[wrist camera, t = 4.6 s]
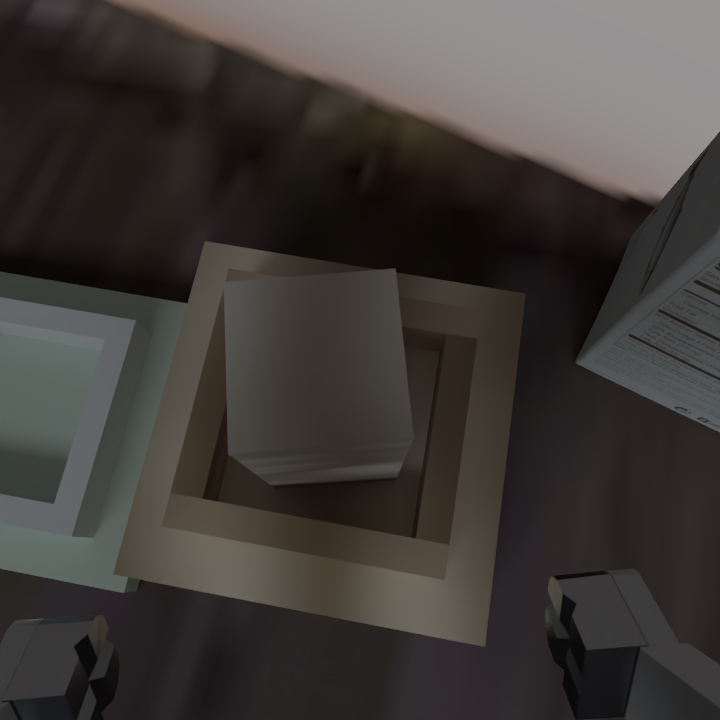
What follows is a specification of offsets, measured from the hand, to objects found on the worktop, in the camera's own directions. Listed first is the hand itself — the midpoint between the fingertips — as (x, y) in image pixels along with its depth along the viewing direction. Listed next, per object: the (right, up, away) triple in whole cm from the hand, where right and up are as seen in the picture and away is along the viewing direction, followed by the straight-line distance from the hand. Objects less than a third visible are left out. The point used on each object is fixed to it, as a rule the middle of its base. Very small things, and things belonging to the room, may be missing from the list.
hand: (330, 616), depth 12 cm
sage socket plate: (-13, +2, +16) cm, 21 cm away
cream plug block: (0, +2, +10) cm, 11 cm away
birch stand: (0, +1, +16) cm, 16 cm away
